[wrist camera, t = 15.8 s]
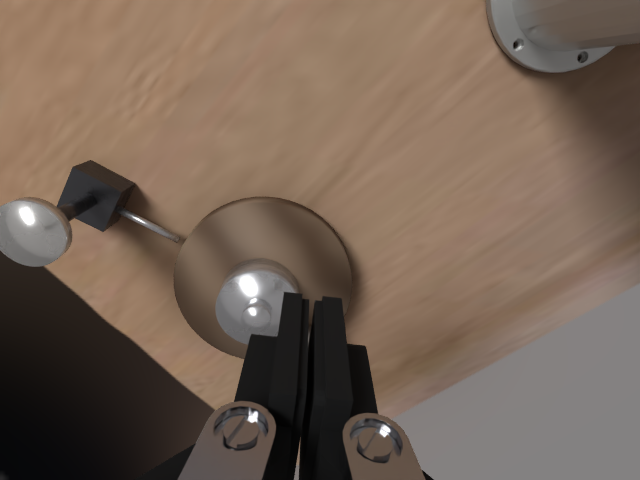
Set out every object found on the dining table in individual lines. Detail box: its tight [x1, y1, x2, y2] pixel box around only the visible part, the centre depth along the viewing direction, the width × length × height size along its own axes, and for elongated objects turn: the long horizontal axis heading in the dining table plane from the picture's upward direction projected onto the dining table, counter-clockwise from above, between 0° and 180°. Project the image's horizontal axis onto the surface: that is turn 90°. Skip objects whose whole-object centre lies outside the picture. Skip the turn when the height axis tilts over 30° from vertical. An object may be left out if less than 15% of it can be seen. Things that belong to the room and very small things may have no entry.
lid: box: [215, 258, 299, 345], centre depth 35 cm, size 7×7×4 cm
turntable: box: [174, 197, 352, 359], centre depth 36 cm, size 16×16×6 cm
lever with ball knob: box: [0, 160, 180, 266], centre depth 32 cm, size 10×4×11 cm, turn 59°
